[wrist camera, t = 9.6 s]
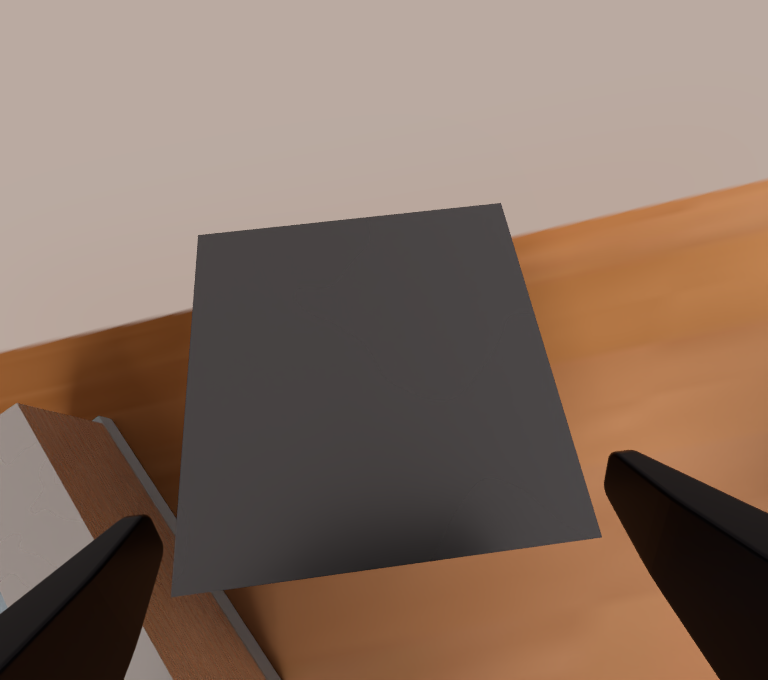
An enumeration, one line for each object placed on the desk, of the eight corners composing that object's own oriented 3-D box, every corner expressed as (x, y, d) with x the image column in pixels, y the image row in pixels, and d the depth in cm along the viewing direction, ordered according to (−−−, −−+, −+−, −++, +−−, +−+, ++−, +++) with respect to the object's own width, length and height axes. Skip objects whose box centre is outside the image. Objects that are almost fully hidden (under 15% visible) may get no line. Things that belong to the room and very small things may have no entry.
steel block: (437, 501, 16) (602, 537, 4) (340, 514, 15) (171, 596, 3) (421, 406, 17) (500, 203, 5) (333, 417, 17) (198, 235, 5)
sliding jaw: (208, 753, 12) (127, 870, 8) (47, 465, 15) (-62, 457, 12) (270, 686, 13) (221, 767, 9) (102, 423, 16) (16, 402, 12)
